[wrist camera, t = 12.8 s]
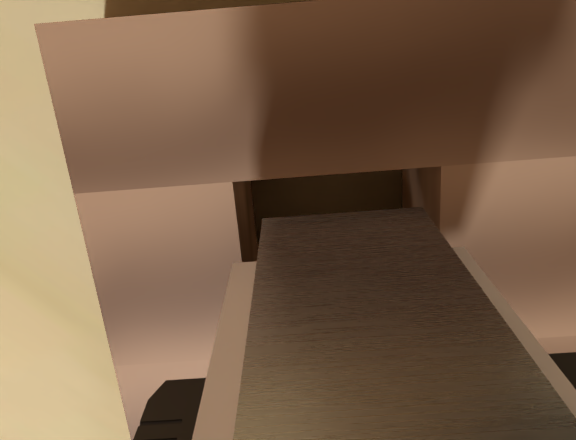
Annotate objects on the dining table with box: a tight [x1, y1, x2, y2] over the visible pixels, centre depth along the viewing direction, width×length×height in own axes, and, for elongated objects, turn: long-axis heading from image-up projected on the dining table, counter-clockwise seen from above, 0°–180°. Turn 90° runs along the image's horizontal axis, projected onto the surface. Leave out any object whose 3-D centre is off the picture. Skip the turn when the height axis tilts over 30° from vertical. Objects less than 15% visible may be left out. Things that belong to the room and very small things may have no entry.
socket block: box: [34, 0, 576, 440], centre depth 17 cm, size 14×14×5 cm
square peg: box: [233, 207, 576, 440], centre depth 9 cm, size 4×4×11 cm
